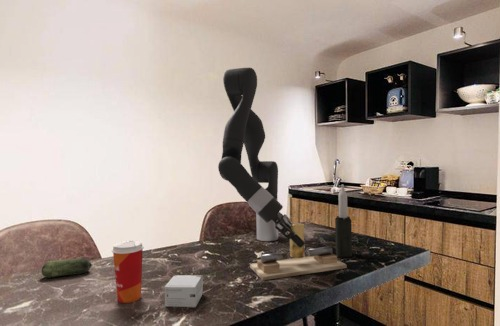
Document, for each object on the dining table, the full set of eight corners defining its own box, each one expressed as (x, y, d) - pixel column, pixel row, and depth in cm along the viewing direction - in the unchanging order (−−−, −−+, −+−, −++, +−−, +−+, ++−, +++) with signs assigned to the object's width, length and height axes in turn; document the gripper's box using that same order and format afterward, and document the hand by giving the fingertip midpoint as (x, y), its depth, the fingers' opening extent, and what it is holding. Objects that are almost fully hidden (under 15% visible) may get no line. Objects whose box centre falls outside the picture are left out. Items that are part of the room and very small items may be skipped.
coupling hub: (287, 254, 105) (287, 223, 105) (300, 253, 106) (300, 222, 106) (293, 258, 100) (293, 226, 100) (307, 257, 102) (306, 225, 102)
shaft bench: (249, 267, 105) (249, 257, 105) (326, 256, 114) (326, 248, 114) (262, 280, 94) (262, 269, 93) (346, 267, 102) (346, 258, 102)
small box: (164, 307, 78) (163, 286, 78) (174, 293, 86) (174, 274, 86) (195, 308, 78) (195, 286, 78) (203, 294, 85) (203, 274, 85)
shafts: (260, 261, 101) (260, 253, 101) (328, 252, 108) (328, 245, 108) (263, 263, 99) (263, 256, 99) (332, 254, 106) (332, 247, 106)
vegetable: (39, 281, 97) (39, 264, 97) (44, 275, 102) (43, 259, 102) (91, 274, 102) (91, 258, 101) (93, 269, 106) (93, 254, 106)
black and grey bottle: (349, 252, 118) (348, 183, 118) (352, 256, 113) (351, 184, 112) (335, 252, 119) (334, 183, 118) (337, 256, 114) (336, 185, 113)
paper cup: (118, 292, 87) (117, 240, 87) (148, 291, 88) (146, 239, 87) (108, 306, 79) (106, 249, 79) (140, 304, 80) (139, 247, 80)
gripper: (269, 199, 98) (311, 241, 95) (275, 194, 112) (312, 230, 109) (252, 216, 99) (293, 258, 97) (260, 209, 113) (296, 245, 111)
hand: (303, 243), depth 103 cm, fingers closed on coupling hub, 4 cm apart
